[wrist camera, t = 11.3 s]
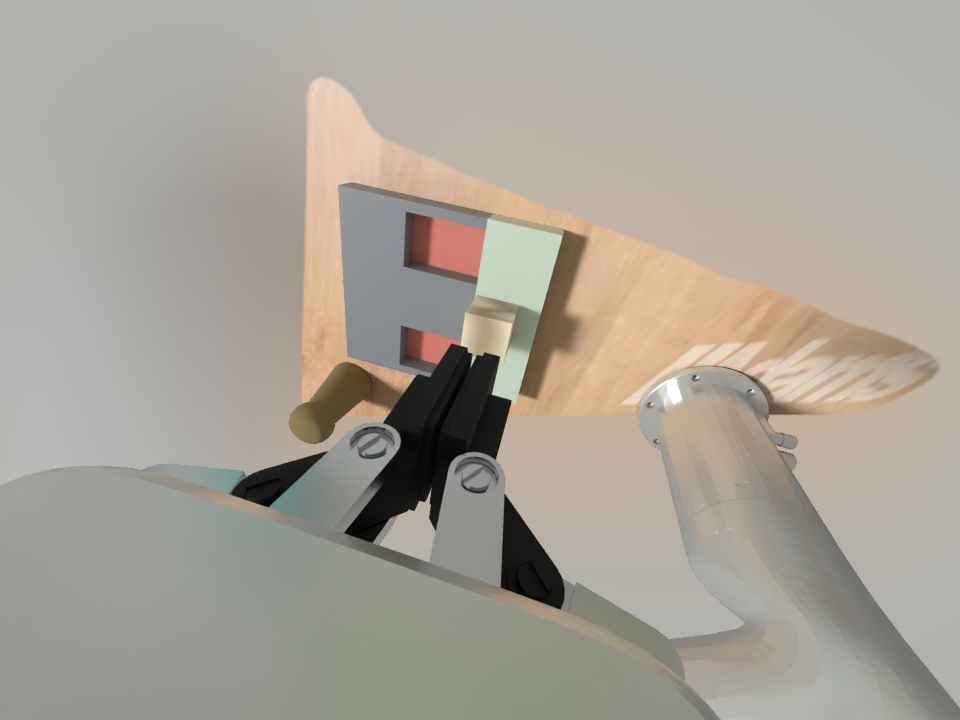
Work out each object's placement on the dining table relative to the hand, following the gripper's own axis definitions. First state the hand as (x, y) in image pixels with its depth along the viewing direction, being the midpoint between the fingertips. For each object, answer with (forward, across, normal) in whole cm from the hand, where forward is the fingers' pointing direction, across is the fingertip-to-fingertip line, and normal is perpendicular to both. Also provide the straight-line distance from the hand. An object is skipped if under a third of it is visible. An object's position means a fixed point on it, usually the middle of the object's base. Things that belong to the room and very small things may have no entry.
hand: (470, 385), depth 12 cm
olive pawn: (+27, +21, +26) cm, 43 cm away
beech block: (+25, +2, +10) cm, 27 cm away
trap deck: (+27, +9, +10) cm, 30 cm away
